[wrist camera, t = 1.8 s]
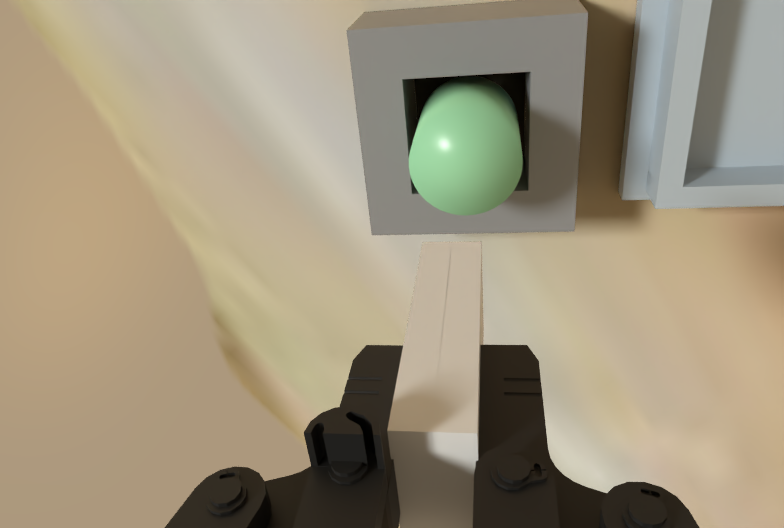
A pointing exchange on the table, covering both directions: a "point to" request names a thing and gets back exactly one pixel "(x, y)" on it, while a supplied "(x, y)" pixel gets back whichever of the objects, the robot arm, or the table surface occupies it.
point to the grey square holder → (460, 58)
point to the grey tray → (705, 105)
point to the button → (467, 147)
